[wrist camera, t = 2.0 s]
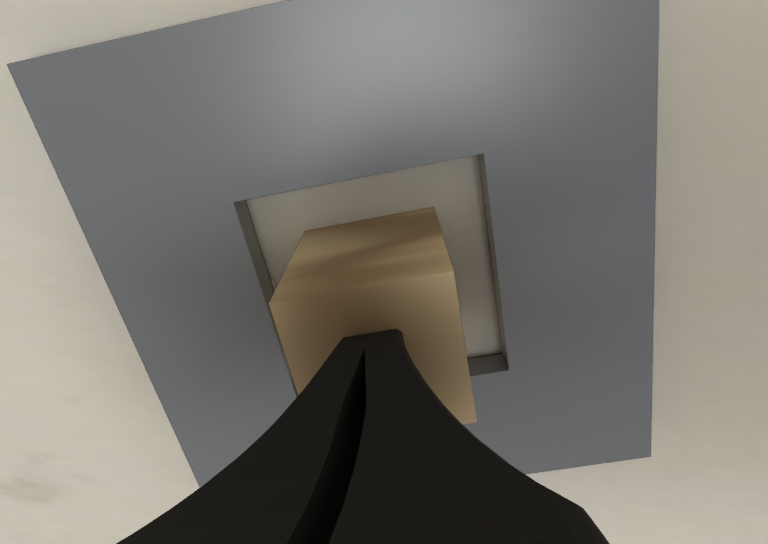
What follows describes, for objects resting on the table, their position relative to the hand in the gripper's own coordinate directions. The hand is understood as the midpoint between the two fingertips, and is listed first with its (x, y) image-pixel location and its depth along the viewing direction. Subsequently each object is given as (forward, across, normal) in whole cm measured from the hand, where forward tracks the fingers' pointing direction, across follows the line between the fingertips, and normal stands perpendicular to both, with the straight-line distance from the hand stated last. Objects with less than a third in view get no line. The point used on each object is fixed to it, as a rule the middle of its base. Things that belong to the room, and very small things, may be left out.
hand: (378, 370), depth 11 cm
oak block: (+5, 0, 0) cm, 5 cm away
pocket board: (+5, 0, 0) cm, 5 cm away
